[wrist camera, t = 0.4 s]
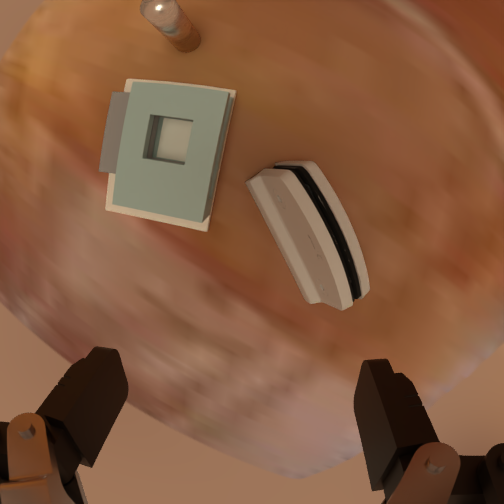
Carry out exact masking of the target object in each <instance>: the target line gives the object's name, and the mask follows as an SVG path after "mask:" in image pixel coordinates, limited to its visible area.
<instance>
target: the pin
mask: <svg viewBox="0 0 504 504" xmlns="http://www.w3.org/2000/svg"><path fill="white" fill-rule="evenodd" d="M140 12H141V14H142V15H143V16H144V17H145V18H146V19H147V20H148V21H149V22H150V23H151V24H152V25H153V26H154V27H155V28H156V29H157V30H159V31H160V32H161V33H162V34H163V35H164V36H165V37H166V38H167V39H168V40H169V41H170V42H171V43H172V44H173V45H174V46H175V47H176V48H177V49H178V50H179V51H181V52H185V53H187V52H191V51H193V50H195V49H196V48H197V47H198V46H199V44H200V40H201V39H200V36H199V34H198V32H197V31H196V29H195V28H194V27H193V25H192V24H191V22H190V21H189V19H188V18H187V16H186V15H185V13H184V12H183V10H182V9H181V8H180V6H179V5H178V3H177V2H176V0H143V1H142V3H141V5H140Z"/></svg>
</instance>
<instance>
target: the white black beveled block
mask: <svg viewBox="0 0 504 504" xmlns="http://www.w3.org/2000/svg"><path fill="white" fill-rule="evenodd" d="M275 165H276V166H275V167H274V169H263V170H262V171H261V172H259V173H258V174H257V175H255V176H254V177H253V178H252V179H248V180H247V181H246V182H245V183H246V185H247V187H248V189H249V191H250V193H251V195H252V197H253V199H254V201H255V202H256V204H257V206H258V208H259V210H260V212H261V214H262V216H263V218H264V220H265V222H266V224H267V226H268V228H269V230H270V232H271V233H272V235H273V237H274V239H275V241H276V243H277V245H278V247H279V249H280V251H281V253H282V255H283V257H284V259H285V261H286V263H287V265H288V267H289V269H290V271H291V273H292V275H293V277H294V279H295V281H296V283H297V285H298V287H299V289H300V291H301V293H302V295H303V297H304V299H305V300H306V301H307V302H308V303H310V304H314V303H319V302H323V303H326V304H328V305H330V306H332V307H334V308H337V309H339V310H344V309H346V308H348V307H351V306H352V305H353V302H354V299H358V298H359V299H362V298H363V297H364V296H365V295H366V294H367V293H368V291H369V290H370V286H369V279H368V273H367V269H366V265H365V261H364V258H363V254H362V251H361V248H360V245H359V243H358V240H357V237H356V235H355V232H354V230H353V227H352V225H351V223H350V221H349V218H348V216H347V214H346V212H345V210H344V208H343V207H342V205H341V203H340V201H339V199H338V197H337V195H336V194H335V192H334V190H333V188H332V187H331V185H330V184H329V182H328V180H327V179H326V177H325V176H324V174H323V173H322V171H321V170H320V168H319V167H318V166H317V165H316V163H314V162H313V161H282V162H278V163H275Z"/></svg>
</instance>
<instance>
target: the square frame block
mask: <svg viewBox="0 0 504 504" xmlns="http://www.w3.org/2000/svg"><path fill="white" fill-rule="evenodd" d="M236 94H237V91H236V90H230V89H224V88H217V87H211V86H203V85H195V84H187V83H178V82H167V81H155V80H140V79H127V80H126V84H125V89H124V92H112V96H111V101H110V106H109V111H108V116H107V121H106V127H105V132H104V138H103V145H102V151H101V158H100V166H99V171H100V172H107V173H109V180H108V189H107V198H106V208H105V210H108V211H113V212H117V213H122V214H127V215H132V216H136V217H141V218H146V219H150V220H155V221H160V222H164V223H169V224H173V225H178V226H183V227H187V228H192V229H196V230H201V231H206V232H207V231H208V229H209V224H210V218H211V213H212V208H213V202H214V197H215V192H216V187H217V182H218V177H219V172H220V167H221V162H222V157H223V152H224V148H225V143H226V138H227V134H228V129H229V125H230V120H231V116H232V111H233V107H234V102H235V98H236Z"/></svg>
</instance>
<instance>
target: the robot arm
mask: <svg viewBox="0 0 504 504" xmlns="http://www.w3.org/2000/svg"><path fill="white" fill-rule="evenodd" d="M127 396H128V382H127V378H126V375H125V372H124V369H123V365H122V362H121V358H120V355H119V352H118V351H117V350H116V349H111V348H105V347H98V346H96V347H94V348H93V349H92V351H91V352H90V353H89V354H88V356H87V357H86V358H82V359H81V360H79V361H78V362H76V363H75V364H73V365H72V366H71V367H70V368H69V369H68V370H67V372H66V373H65V374H64V377H62V378H61V379H60V381H59V382H58V385H56V386H55V387H54V389H53V390H52V391H51V393H50V394H49V395H48V397H47V398H46V399H45V400H44V402H43V403H42V405H41V406H40V407H39V409H38V410H37V411H36V413H23V414H20V415H18V416H16V417H15V418H14V419H12V420H11V422H10V423H9V422H0V504H88V502H87V499H86V496H85V493H84V489H83V486H82V483H81V480H80V476H79V473H78V471H77V468H78V466H79V464H82V465H85V466H88V467H91V468H92V467H93V465H94V462H95V460H96V458H97V456H98V454H99V452H100V450H101V448H102V446H103V444H104V442H105V440H106V438H107V436H108V434H109V432H110V430H111V428H112V426H113V424H114V422H115V420H116V418H117V416H118V414H119V413H120V411H121V409H122V407H123V405H124V403H125V401H126V399H127ZM354 412H355V417H356V421H357V425H358V429H359V433H360V438H361V442H362V447H363V451H364V456H365V460H366V464H367V469H368V474H369V479H370V484H371V489H372V491H377V490H383V489H384V493H385V499H384V500H383V502H382V503H381V504H504V443H501V444H497V445H495V446H493V447H492V448H491V449H490V450H489V452H488V453H487V454H486V456H462V455H458V453H457V452H456V451H455V449H453V448H452V447H451V446H449V445H447V444H445V443H441V442H440V441H439V440H438V437H437V435H436V433H435V430H434V428H433V426H432V423H431V421H430V419H429V417H428V415H427V412H426V410H425V408H424V406H422V401H421V399H420V397H419V396H418V393H417V391H416V389H415V387H414V385H413V383H412V382H411V381H410V380H409V379H408V378H407V377H406V376H405V375H404V374H403V373H394V372H393V369H392V367H391V365H390V363H389V361H388V360H387V359H373V360H364V361H363V363H362V366H361V370H360V374H359V378H358V382H357V386H356V390H355V394H354Z"/></svg>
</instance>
